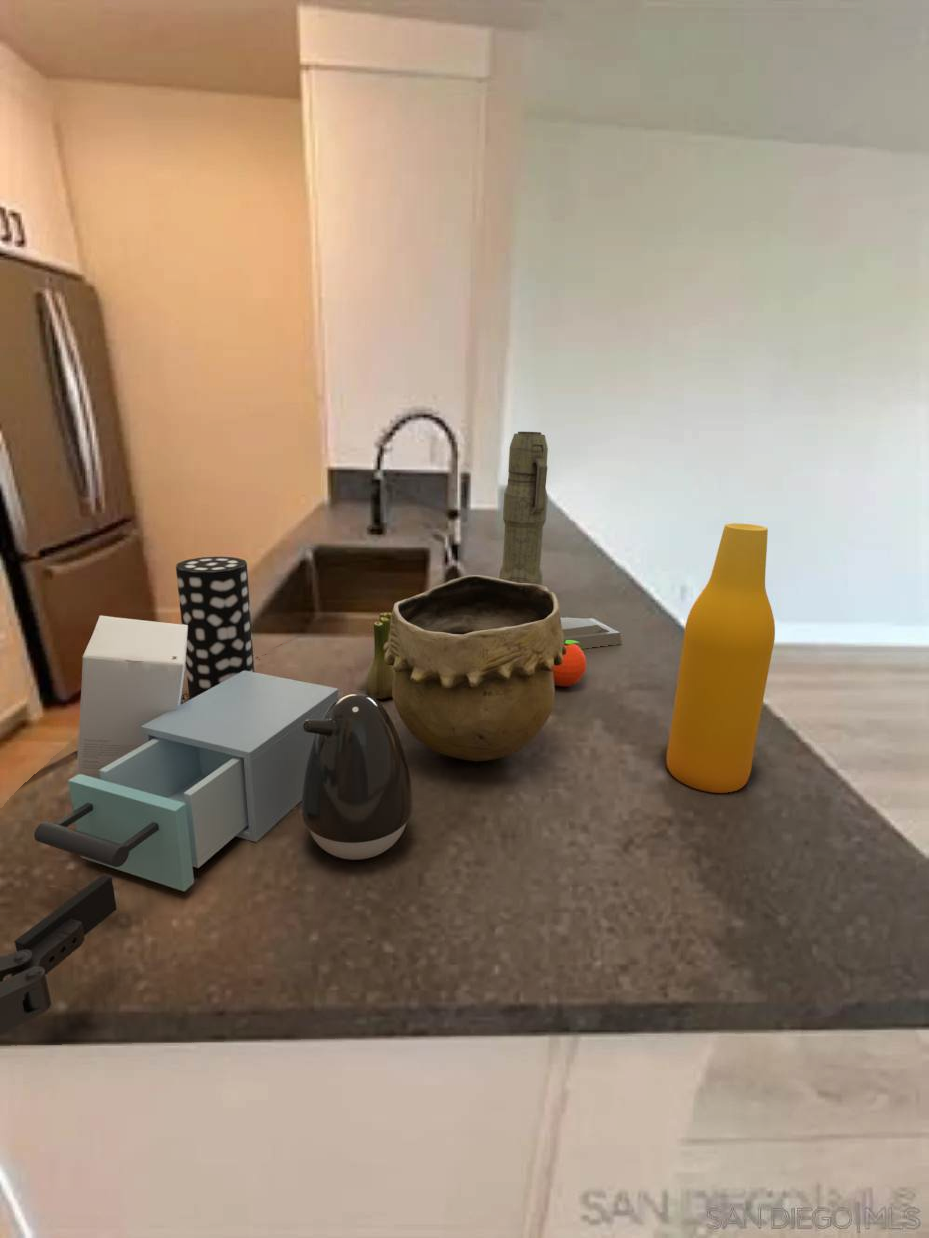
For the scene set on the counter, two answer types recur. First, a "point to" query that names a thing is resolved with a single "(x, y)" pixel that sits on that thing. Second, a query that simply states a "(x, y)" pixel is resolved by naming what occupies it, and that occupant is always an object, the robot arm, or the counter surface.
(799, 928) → the counter surface
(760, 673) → the beer bottle
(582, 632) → the soap mold
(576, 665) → the clementine
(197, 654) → the white-spotted black cylinder
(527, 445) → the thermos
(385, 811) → the pump dispenser
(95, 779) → the mint green drawer
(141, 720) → the rectangular carton
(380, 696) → the fennel bulb
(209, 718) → the small drawer unit
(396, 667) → the clay pot
